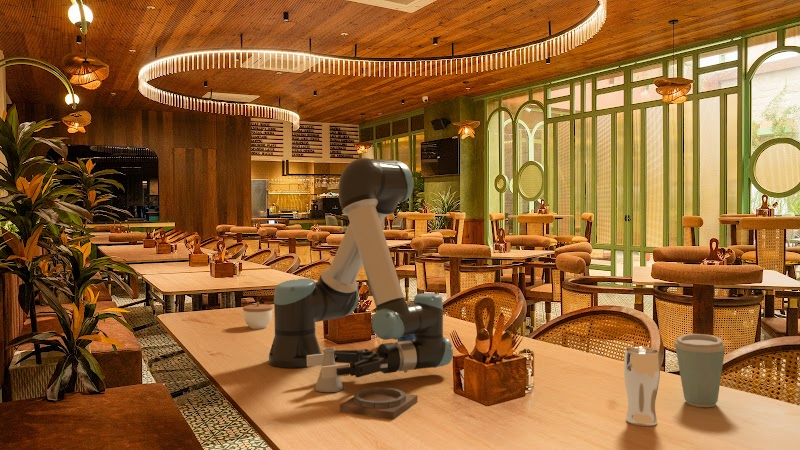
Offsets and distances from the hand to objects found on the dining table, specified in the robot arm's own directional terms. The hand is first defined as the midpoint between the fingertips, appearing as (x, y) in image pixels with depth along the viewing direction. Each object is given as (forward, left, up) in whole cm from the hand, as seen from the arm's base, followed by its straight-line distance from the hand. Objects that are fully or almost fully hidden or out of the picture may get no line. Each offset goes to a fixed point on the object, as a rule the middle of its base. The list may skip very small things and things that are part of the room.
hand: (314, 366), depth 158 cm
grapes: (-1, +53, -6) cm, 53 cm away
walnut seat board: (+20, -5, -6) cm, 21 cm away
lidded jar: (-63, +62, -6) cm, 88 cm away
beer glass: (+74, +8, -6) cm, 75 cm away
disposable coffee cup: (+85, +26, -6) cm, 90 cm away
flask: (+2, +3, -6) cm, 7 cm away
